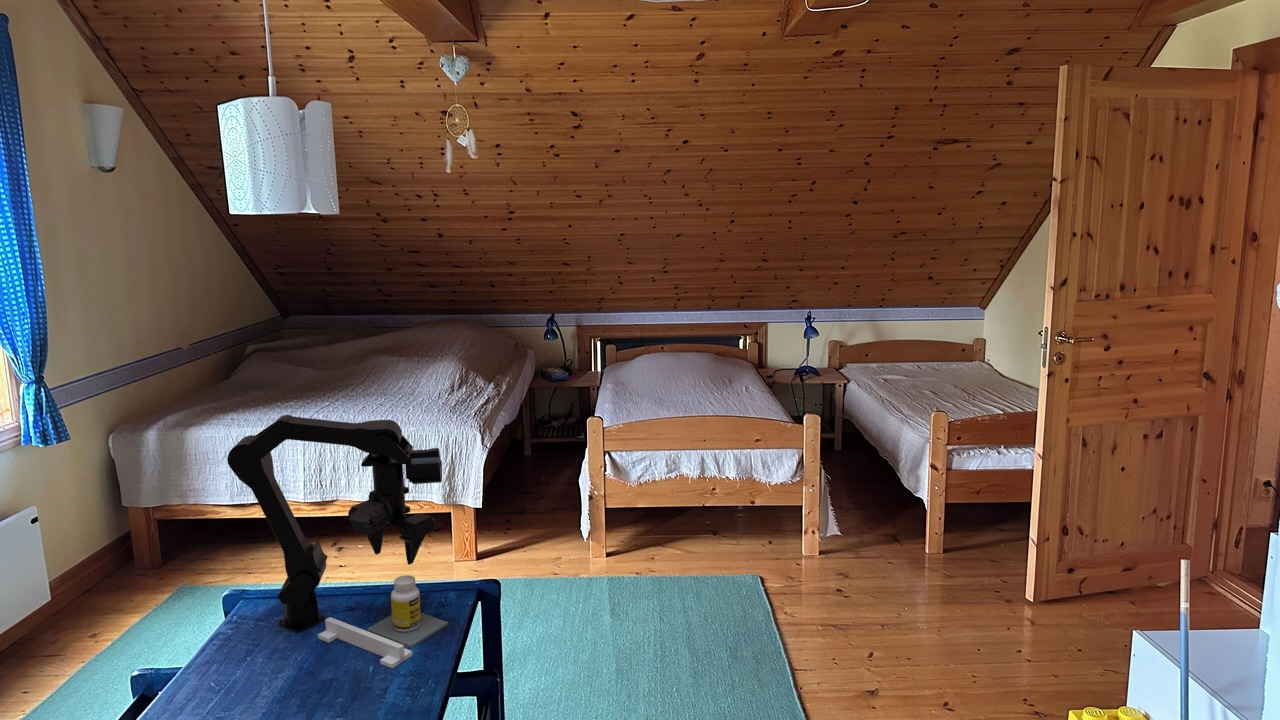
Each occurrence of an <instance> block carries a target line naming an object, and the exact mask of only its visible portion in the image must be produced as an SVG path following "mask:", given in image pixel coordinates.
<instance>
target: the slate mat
mask: <svg viewBox="0 0 1280 720" xmlns="http://www.w3.org/2000/svg"><path fill="white" fill-rule="evenodd" d="M420 614H421V624H420V626H419V627H418V628H416V629H415V630H412V631H408V632H400V631H396V630H395V629H394V628H393V625H392V614H390V615H389V616H387V617H385V618H383V619H381V620H380V621H378V622H376V623H374V624H373V625H371V626H369V627H368V628H366V630H365V631H368V632H370V633H373V634H376V635H378V636H381V637H383V638H386V639H389V640H391V641H394V642H397V643H399V644H402V645H404V647H406V648H409V649H413V648H414V647H416V646H417V645H418V644H420V643H422V642H423V641H425V640H427V639H428V638H430V637H431V636H433V635H434V634H436V633H437V632H439V631H440V630H443V629H444V628H445V627H447V626H449V622H448V621H445V620H442V619H440V618H437V617H434V616H431V615H429V614H426V613H423V612H420Z"/></svg>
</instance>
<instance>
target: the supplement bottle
mask: <svg viewBox="0 0 1280 720" xmlns="http://www.w3.org/2000/svg"><path fill="white" fill-rule="evenodd" d="M393 587H394V588H393V590H392V591H391V592H390V604H391V605H390V606H391V615H392V625H393V628H394V629H395V630H396V631H400V632H408V631H412V630H415V629H416V628H418V627H419V626H420V624H421V614H420V613H421V597H420V595H421V594H420V590H419V588H418V587H417V586H416V577H414V576H413V575H408V574H406V575H404V574H403V575H400V576H398V577H396V578H394V581H393Z"/></svg>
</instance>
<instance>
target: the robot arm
mask: <svg viewBox="0 0 1280 720" xmlns="http://www.w3.org/2000/svg"><path fill="white" fill-rule="evenodd" d="M286 440H289V441H291V440H292V441H301V442H308V443H310V442H311V443H320V444H328V445H329V444H331V445H340V446H349V447H351V448H356V449H357V450H360V451H362V452H364V453H367V456H365V457H364V458H363V459H362V462H361V463H360V466H362V467H366V468H367V467H371V468H372V483H373V490H372V491H369V494H368V499H366V500H364V501H362V502H359V503H357V504H355V505H352V506H351V507H350V509H349V510H348V515H347V516H348V521H349V522H351V526H352V527H353V530H354V531H355V532H356V533H362V534H364V535H366V537H367V539H368V541H369V543H370V546H371V548H372V551H373V552H374V555H379V554H381V553H382V552H381V551H382V547H383V540H384V539H383V538H384V527H385V526H386V525H387V524H393V525H396V526H398V532H399V533H400V536H399V540H401V541H402V542H404V548H405V550H404V551H405V555H406V556H405V557H406V563H407V565H409V566H410V565H412V564H413V563H414V562H415V560H416V557H417V554H418V552H419V550H420V547H421V545H422V543H423V541H424V539H425V537H426V536H427V535H428V534H430V533H431V532H433V531H435V530H436V519H435V517H433V516H431V515H428V514H424V513H419V512H418V513H416V514H413V515H411V516H406V515H407V514H409V513H410V512H411V507H410V506H407V505H406V494H409V493H410V487H407V486H405V481H404V480H408V482H409V483H411V485H419V484H422V485H423V484H437V483H438V484H439V483H443V461H442V459H441V454H440V448H439V447H433V448H432V447H431V448H428V449H414V446H413V444H411V443H410V442H409V440H408V439H407V438H406V437H405V436H404V435H403V430H402V428H401V426H400V425H399V424H398V423H397V422H396V421H394V420H391V419H379V420H378V419H377V420H368V421H361V422H346V421H336V420H330V419H329V420H327V419H318V418H309V417H300V416H293V415H290V414H283V415H280V417H278V418H277V419H276V420H275V421H274V422H272V423H271V424H270V425H268V426H266V427H265V428H264V429H262V430H261V431H260V432H258V433H257V434H256V435H252V434H251V435H246V436H244V437H243V438H241V439H240V440H239V441H238V442H237V443H236V444H235V445H234V446H233V447H232V448H231V449H230V451H229V452H228V454H227V457H226V458H227V459H226V461H227V465H228V466H229V468H230V469H231V471H232V472H233V473H234V474H235V476H236V477H237V478H238V479H239V481H241V482H242V483H244V485H246V486H247V487H248V488H250V489H251V490H250V491H252V493H253V495H254V497H255V499H256V501H257V503H258V504H259V506H260V508H261V510H262V512H263V514H264V516H265V517H264V518H266V520H267V522H268V524H269V527H270V528H271V530H272V532H273V534H274V536H275V538H276V541H277V542H278V544H279V546H280V548H281V550H282V552H283V556H284V557H283V559H284V567H285V573H286V576H287V577H286V579H285V581H284V582H283V584H282V587H281V588H280V590H279V591H278V594H277V598H278V599H279V601H280V604H281V605H283V615H284V618H282V619H280V620H278V621H277V624H278V626H281V627H284V628H285V629H289V630H290V631H293V632H296V633H301V632H303V631H304V630H307V629H308V628H311V627H312V626H315V625H316V624H319V622H322V621H323V620H326V615H325V614H323V613H322V614H321V613H320V611H319V602H318V598H317V597H318V596H317V592H315V589H317V588H318V587H319V585H320V582H321V580H322V579H323V576H324V573H325V571H326V569H327V559H328V555H327V554H326V553H325V552H324V551H323V549H322V545H321V542H320V541H319V540H318V541H315V542H314V543H312V542H311V541H310V540H308V539H307V538H306V537H305V535H304V534H303V531H302V529H301V527H300V525H299V523H298V521H297V519H296V517H295V515H294V514H293V511H292V509H291V507H290V505H289V502H288V501H287V498H286V497H285V495H284V493H283V491H282V489H281V486H280V485H279V483H278V481H277V479H276V477H275V471H274V462H273V457H272V453H271V452H272V451H273V450H274V449H275V448H277V447H278V446H280V445H281V444H282V443H283V442H285V441H286ZM404 465H405V478H406V479H404Z"/></svg>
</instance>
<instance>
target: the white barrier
mask: <svg viewBox="0 0 1280 720" xmlns="http://www.w3.org/2000/svg"><path fill="white" fill-rule="evenodd" d="M324 623H325V630H324V631H322V632H320V633H318V634H317V639H319V640H321V641H324V642H327V643H329V644H330V643H332V641H334V640H336V639H338V640H340V641H343V642H346V643H348V644H350V645H353V646H356V647H358V648H360V649H362V650H366V651H368V652H370V653H372V654H375V655H378V656H381V657H382V658H381V659H379V663H380V665H383V666H385V667H387V668H389V669H390V668H391V669H394V668H395V667H396V666H399V665H400V664H402V662H403V663H404V661H406V660H407V659H409V658H410V657H413V651H412V650H409V649H407V648H405V646H404V645H402V644H399V643H397V642H394V641H391V640H389V639H386V638H383V637H381V636H378V635H376V634H373V633H370V632H368V631H366V630H365V629H362V628H360V627H357V626H354V625H352V624H349V623H347V622H344V621H341V620H339V619H336V618H333V617H327V618H325V619H324Z"/></svg>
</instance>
